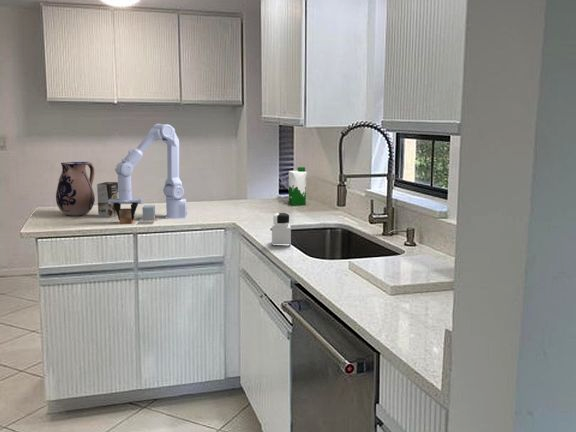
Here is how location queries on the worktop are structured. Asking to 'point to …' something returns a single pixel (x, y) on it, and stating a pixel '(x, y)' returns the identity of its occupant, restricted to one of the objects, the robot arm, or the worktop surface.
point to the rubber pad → (144, 222)
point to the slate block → (148, 212)
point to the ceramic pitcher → (75, 189)
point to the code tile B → (149, 220)
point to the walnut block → (125, 216)
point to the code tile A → (125, 224)
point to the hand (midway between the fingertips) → (126, 219)
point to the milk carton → (297, 187)
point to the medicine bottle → (281, 229)
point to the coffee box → (104, 194)
